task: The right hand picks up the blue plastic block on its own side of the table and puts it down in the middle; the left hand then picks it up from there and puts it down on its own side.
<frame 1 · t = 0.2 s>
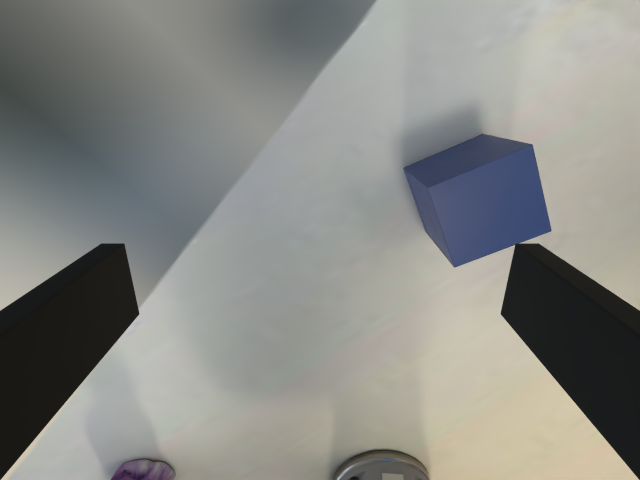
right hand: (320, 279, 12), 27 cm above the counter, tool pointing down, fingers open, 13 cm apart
figurine: (146, 473, 55), on the counter
block: (453, 185, 39), on the counter
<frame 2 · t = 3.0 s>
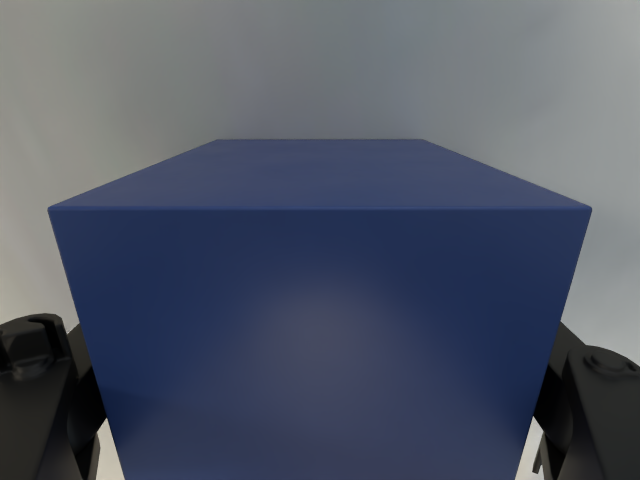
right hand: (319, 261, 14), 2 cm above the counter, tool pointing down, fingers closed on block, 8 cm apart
block: (319, 244, 15), on the counter, touching right hand
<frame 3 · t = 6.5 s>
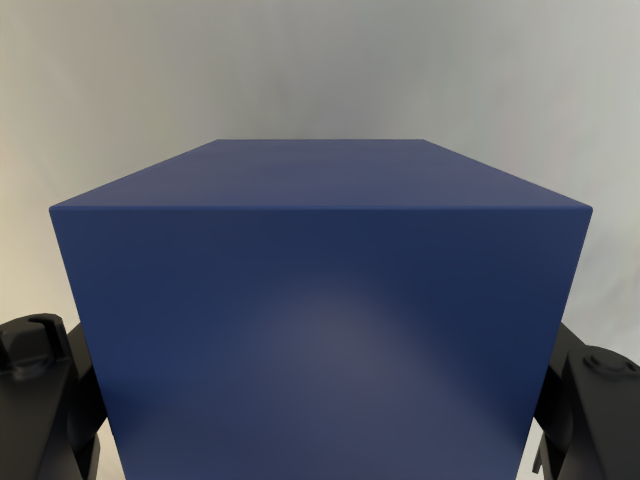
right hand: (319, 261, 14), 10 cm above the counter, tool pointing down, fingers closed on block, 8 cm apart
block: (320, 244, 15), point 8 cm above the counter, touching right hand
when the right hand's fingers open (3 cm above the counter, at t = 10.2 s): block drops 1 cm, on the counter.
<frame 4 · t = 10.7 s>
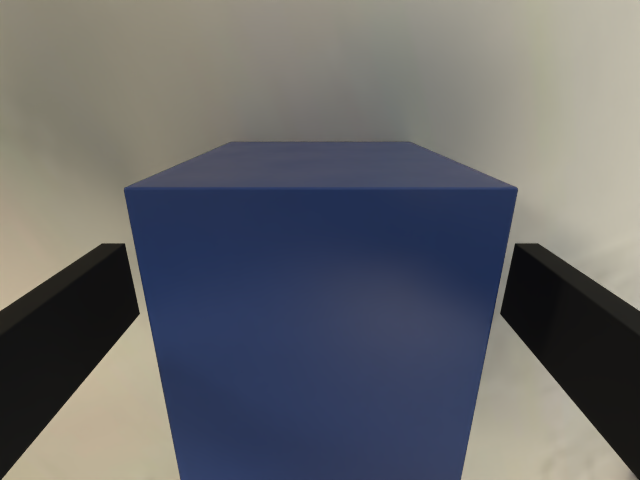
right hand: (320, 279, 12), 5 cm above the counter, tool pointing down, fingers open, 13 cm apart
block: (320, 234, 17), on the counter
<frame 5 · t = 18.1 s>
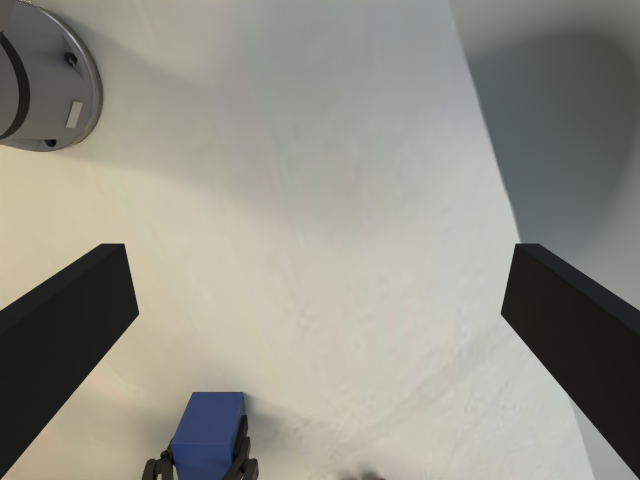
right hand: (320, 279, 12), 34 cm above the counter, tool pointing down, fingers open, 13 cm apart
left hand: (217, 421, 57), fingers closed on block, 8 cm apart
block: (220, 412, 59), on the counter, touching left hand
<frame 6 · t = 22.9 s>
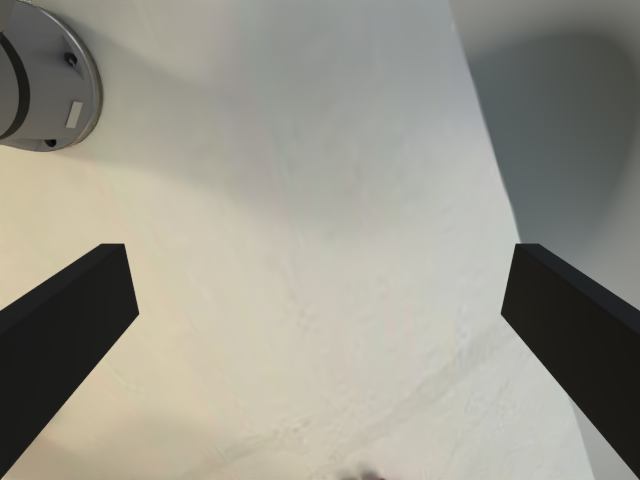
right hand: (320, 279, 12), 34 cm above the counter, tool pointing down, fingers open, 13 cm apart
when the left hand's fingers open (3 cm above the counter, at t = 27.7 s): block drops 1 cm, on the counter.
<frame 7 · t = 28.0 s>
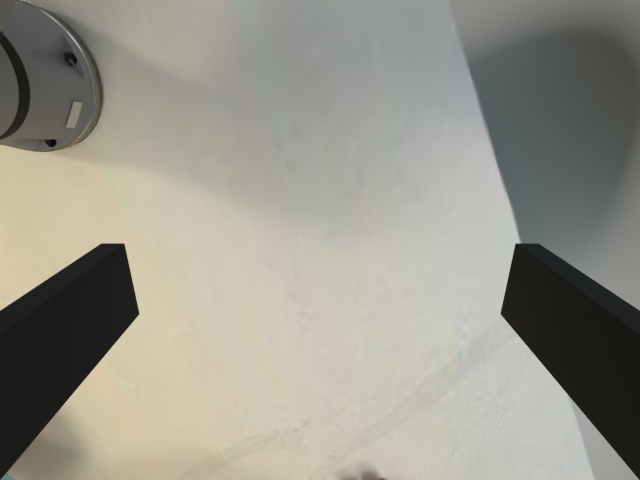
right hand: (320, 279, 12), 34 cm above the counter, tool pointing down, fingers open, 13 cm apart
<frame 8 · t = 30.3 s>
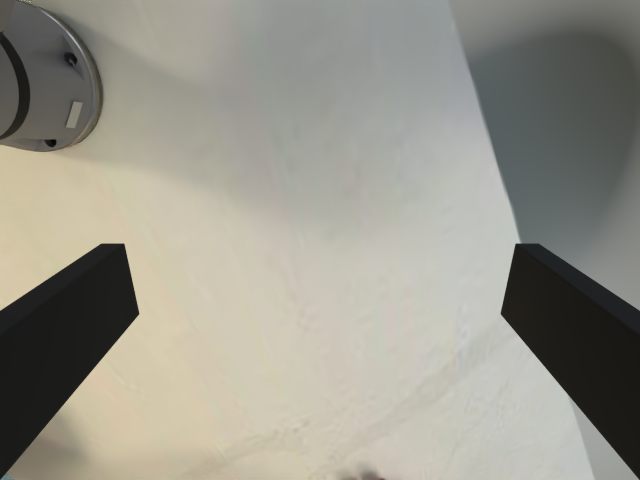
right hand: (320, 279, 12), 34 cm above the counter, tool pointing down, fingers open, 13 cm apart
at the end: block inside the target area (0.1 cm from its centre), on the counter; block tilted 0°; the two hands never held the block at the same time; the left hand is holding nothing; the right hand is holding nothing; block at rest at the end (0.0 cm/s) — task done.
